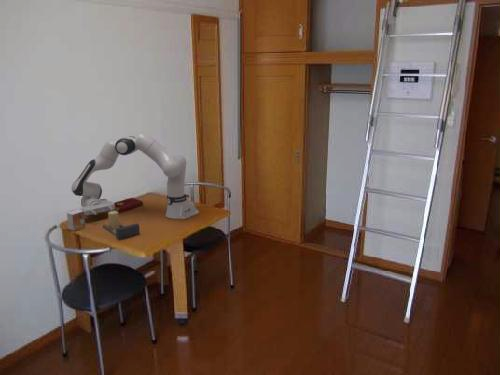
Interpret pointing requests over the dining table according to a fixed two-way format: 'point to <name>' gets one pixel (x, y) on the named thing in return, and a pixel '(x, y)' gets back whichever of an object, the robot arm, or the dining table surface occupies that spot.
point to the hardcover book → (127, 204)
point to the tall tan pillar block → (113, 220)
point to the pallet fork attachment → (124, 231)
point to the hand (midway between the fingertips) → (103, 211)
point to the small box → (76, 220)
